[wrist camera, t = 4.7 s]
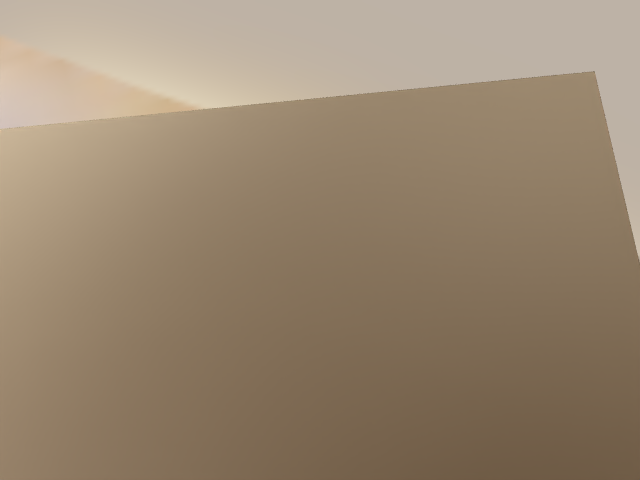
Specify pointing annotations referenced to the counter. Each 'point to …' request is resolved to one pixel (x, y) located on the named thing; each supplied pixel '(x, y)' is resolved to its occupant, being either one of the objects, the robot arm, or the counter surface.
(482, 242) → the beech block
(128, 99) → the counter surface
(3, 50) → the counter surface
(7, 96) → the counter surface
